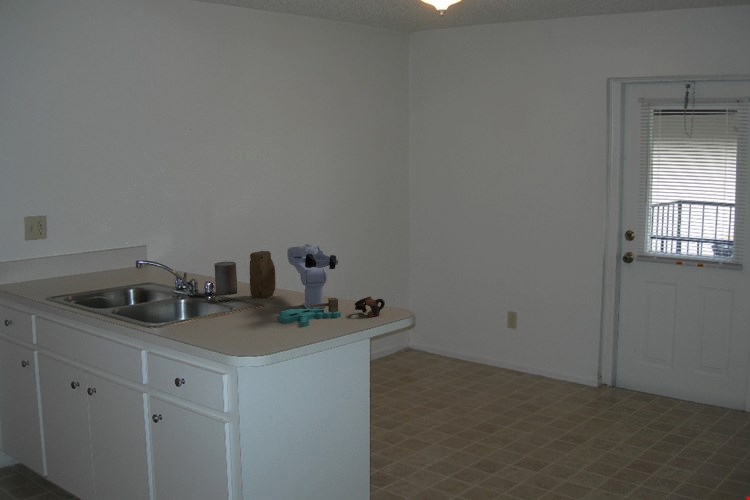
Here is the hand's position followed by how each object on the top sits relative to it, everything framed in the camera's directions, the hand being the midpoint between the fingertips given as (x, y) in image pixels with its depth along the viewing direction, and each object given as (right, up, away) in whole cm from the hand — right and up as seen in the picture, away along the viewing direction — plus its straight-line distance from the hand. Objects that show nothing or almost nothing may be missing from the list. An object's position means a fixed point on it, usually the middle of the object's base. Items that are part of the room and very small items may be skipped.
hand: (324, 265), depth 298 cm
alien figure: (-8, -21, +1) cm, 23 cm away
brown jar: (-30, -15, +44) cm, 56 cm away
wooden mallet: (-1, -20, +7) cm, 21 cm away
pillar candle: (-48, -14, +53) cm, 73 cm away
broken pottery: (+17, -20, +6) cm, 27 cm away
